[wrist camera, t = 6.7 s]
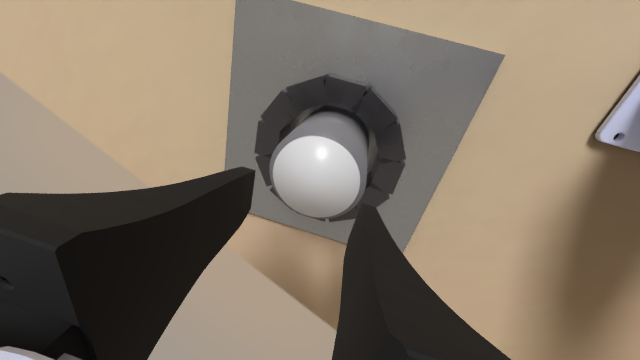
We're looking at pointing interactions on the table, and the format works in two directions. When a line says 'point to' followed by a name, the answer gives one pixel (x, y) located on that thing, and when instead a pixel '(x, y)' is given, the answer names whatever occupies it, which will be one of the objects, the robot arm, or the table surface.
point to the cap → (322, 164)
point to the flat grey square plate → (351, 104)
